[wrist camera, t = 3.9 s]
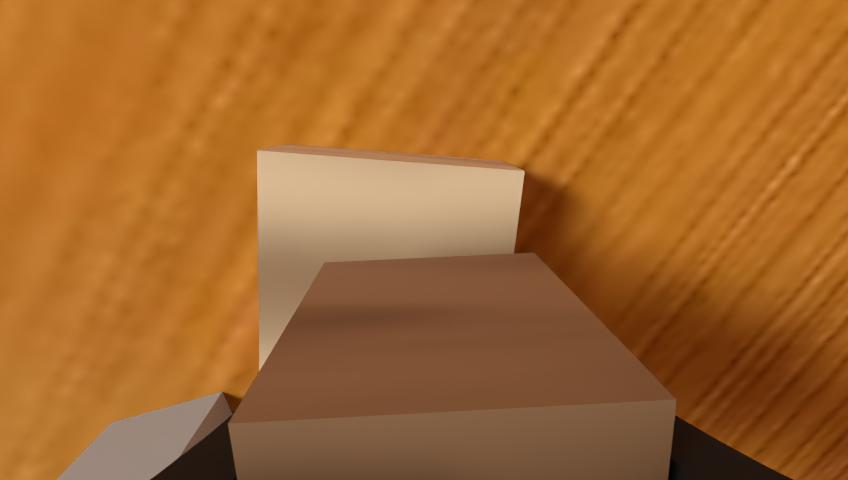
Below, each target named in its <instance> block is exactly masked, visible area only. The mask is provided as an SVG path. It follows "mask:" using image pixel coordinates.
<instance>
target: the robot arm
mask: <svg viewBox="0 0 848 480" xmlns="http://www.w3.org/2000/svg"><path fill="white" fill-rule="evenodd" d="M233 414H234V413H233ZM233 414H232V415H231V416H230V417H229V418H227V419H226V420H225V421H224V422H223V423H222V424H220V425H219V426H218V427H217V428H216V429H214V430H213V431H212V432H211V433H210V434H209V435H207V436H206V437H205V438H204V439H202V440H201V441H200V442H198V443H197V444H196V445H195V446H193V447H192V448H191V449H189V450H188V451H187V452H185V453H184V454H183V455H182V456H180V457H179V458H178V459H176V460H175V461H174V462H173V463H171V464H170V465H169V466H167V467H166V468H165V469H163V470H162V471H161V472H160V473H158V474H157V475H156V476H154V477H153V478H151V479H150V480H237V475H236V469H235V463H234V457H233V451H232V445H231V439H230V433H229V427H228V423H229V421H230V419H231V418H232V416H233ZM668 480H793V479H791V478H789V477H786V476H784V475H782V474H780V473H778V472H776V471H774V470H772V469H770V468H768V467H767V466H765V465H763V464H761V463H759V462H757V461H755V460H753V459H751V458H749V457H748V456H746V455H744V454H742V453H740V452H738V451H737V450H735V449H733V448H731V447H729V446H727V445H726V444H724V443H722V442H720V441H718V440H716V439H715V438H713V437H711V436H709V435H708V434H706V433H704V432H703V431H701V430H699V429H697V428H696V427H694V426H692V425H691V424H689V423H687V422H685V421H684V420H682V419H680V418H679V417H677V416H675V420H674V429H673V438H672V447H671V456H670V465H669V474H668Z"/></svg>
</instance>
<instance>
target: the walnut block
mask: <svg viewBox="0 0 848 480" xmlns="http://www.w3.org/2000/svg"><path fill="white" fill-rule="evenodd" d="M676 403H677V399H676V398H675V397H674V396H673V395H672V394H671V393H670V392H669V391H668V390H667V389H666V388H665V387H664V386H663V385H662V384H661V383H660V382H659V381H658V379H657V378H656V377H655V376H654V375H653V374H652V373H651V372H650V371H649V370H648V369H647V368H646V367H645V366H644V365H643V364H642V363H641V362H640V361H639V360H638V359H637V358H636V357H635V356H634V355H633V354H632V353H631V352H630V351H629V350H628V349H627V347H626V346H625V345H624V344H623V343H622V342H621V341H620V340H619V339H618V338H617V337H616V336H615V335H614V334H613V333H612V332H611V331H610V330H609V329H608V328H607V327H606V326H605V325H604V324H603V323H602V322H601V321H600V320H599V319H598V318H597V317H596V316H595V314H594V313H593V312H592V311H591V310H590V309H589V308H588V307H587V306H586V305H585V304H584V303H583V302H582V301H581V300H580V299H579V298H578V297H577V296H576V295H575V294H574V293H573V292H572V291H571V290H570V289H569V288H568V287H567V286H566V285H565V284H564V282H563V281H562V280H561V279H560V278H559V277H558V276H557V275H556V274H555V273H554V272H553V271H552V270H551V269H550V268H549V267H548V266H547V265H546V264H545V263H544V262H543V261H542V260H541V259H540V258H539V257H538V256H537V255H536V254H535V253H516V254H494V255H473V256H451V257H430V258H408V259H387V260H365V261H344V262H325V263H324V264H323V266H322V268H321V269H320V271H319V273H318V274H317V276H316V278H315V279H314V281H313V283H312V284H311V286H310V288H309V289H308V291H307V293H306V294H305V296H304V298H303V299H302V301H301V303H300V304H299V306H298V308H297V309H296V311H295V313H294V314H293V316H292V318H291V319H290V321H289V323H288V324H287V326H286V328H285V329H284V331H283V333H282V334H281V336H280V338H279V339H278V341H277V343H276V344H275V346H274V348H273V349H272V351H271V353H270V354H269V356H268V358H267V359H266V361H265V363H264V364H263V366H262V368H261V369H260V371H259V373H258V374H257V376H256V378H255V379H254V381H253V383H252V384H251V386H250V388H249V389H248V391H247V393H246V394H245V396H244V398H243V399H242V401H241V403H240V404H239V406H238V408H237V409H236V411H235V413H234V414H233V416H232V418H231V419H230V421H229V423H228V427H229V433H230V439H231V445H232V451H233V457H234V463H235V469H236V475H237V480H668V474H669V465H670V456H671V447H672V438H673V429H674V420H675V412H676Z"/></svg>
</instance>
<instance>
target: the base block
mask: <svg viewBox="0 0 848 480" xmlns="http://www.w3.org/2000/svg"><path fill="white" fill-rule="evenodd" d="M524 175H525V171H524V170H521V169H519V168H517V167H514V166H512V165H509V164H507V163H505V162H502V161H499V160H487V159H474V158H461V157H448V156H435V155H422V154H409V153H397V152H384V151H371V150H358V149H345V148H332V147H319V146H307V145H294V144H286V145H281V146H276V147H271V148H266V149H262V150H257V190H258V280H259V371H260V369H261V368H262V366H263V364H264V363H265V361H266V359H267V358H268V356H269V354H270V353H271V351H272V349H273V348H274V346H275V344H276V343H277V341H278V339H279V338H280V336H281V334H282V333H283V331H284V329H285V328H286V326H287V324H288V323H289V321H290V319H291V318H292V316H293V314H294V313H295V311H296V309H297V308H298V306H299V304H300V303H301V301H302V299H303V298H304V296H305V294H306V293H307V291H308V289H309V288H310V286H311V284H312V283H313V281H314V279H315V278H316V276H317V274H318V273H319V271H320V269H321V268H322V266H323V264H324V263H325V262H344V261H365V260H387V259H408V258H430V257H451V256H473V255H494V254H514V249H515V242H516V234H517V227H518V219H519V212H520V204H521V197H522V189H523V182H524Z"/></svg>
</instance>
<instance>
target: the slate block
mask: <svg viewBox="0 0 848 480" xmlns="http://www.w3.org/2000/svg"><path fill="white" fill-rule="evenodd" d="M231 415H232V412H231V410H230V407H229V405H228V403H227V401H226V399H225V396H224V394H223V392H219V393H216V394H212V395H209V396H205V397H201V398H198V399H194V400H191V401H187V402H183V403H180V404H176V405H173V406H169V407H165V408H162V409H158V410H155V411H151V412H148V413H144V414H140V415H137V416H133V417H130V418H126V419H122V420H119V421H115V422H112V423H110V424H109V426H108V427H107V428H106V429H105V430H104V431H103V432H102V433H101V434H100V435H99V436H98V437H97V438H96V439H95V440H94V441H93V442H92V443H91V444H90V445H89V446H88V447H87V448H86V449H85V450H84V452H83V453H82V454H81V455H80V456H79V457H78V458H77V459H76V460H75V461H74V462H73V463H72V464H71V465H70V466H69V467H68V468H67V469H66V470H65V471H64V472H63V473H62V474H61V475H60V476H59V478H58V479H57V480H150V479H151V478H153V477H154V476H156V475H157V474H158V473H160V472H161V471H162V470H163V469H165V468H166V467H167V466H169V465H170V464H171V463H173V462H174V461H175V460H176V459H178V458H179V457H180V456H182V455H183V454H184V453H185V452H187V451H188V450H189V449H191V448H192V447H193V446H195V445H196V444H197V443H198V442H200V441H201V440H202V439H204V438H205V437H206V436H207V435H209V434H210V433H211V432H212V431H213V430H214V429H216V428H217V427H218V426H219V425H220V424H222V423H223V422H224V421H225V420H226V419H227V418H229V417H230V416H231Z"/></svg>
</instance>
